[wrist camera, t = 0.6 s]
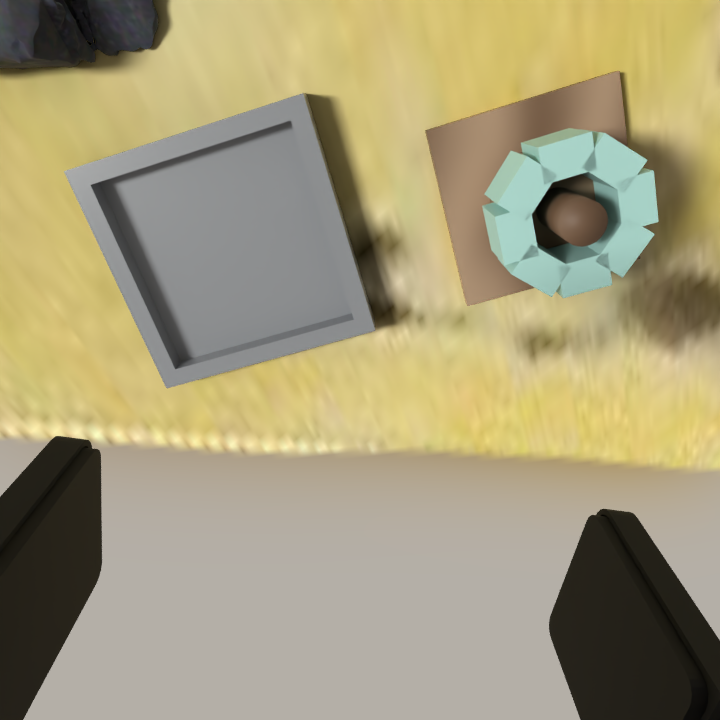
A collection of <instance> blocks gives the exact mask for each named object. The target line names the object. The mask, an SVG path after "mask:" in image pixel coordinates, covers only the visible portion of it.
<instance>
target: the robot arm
mask: <svg viewBox="0 0 720 720" xmlns="http://www.w3.org/2000/svg"><path fill="white" fill-rule="evenodd" d="M101 528H102V526H101V454H100V451H99V450H98V449H92V445H91V443H90V441H89V440H84V439H76V438H69V437H61V436H56V437H54V438H53V439H52V440H51V441H50V442H49V443H48V444H47V446H46V447H45V448H44V449H43V450H42V451H41V452H40V453H39V454H38V455H37V457H36V458H35V459H34V460H33V461H32V462H31V463H30V464H29V466H28V467H27V468H26V469H25V470H24V471H23V472H22V473H21V474H20V475H19V477H18V478H17V479H16V480H15V481H14V482H13V483H12V484H11V485H10V487H9V488H8V489H7V490H6V491H5V492H4V493H3V495H1V497H0V720H23V719H24V717H25V715H26V713H27V711H28V709H29V708H30V706H31V704H32V702H33V700H34V698H35V696H36V695H37V692H38V691H39V689H40V687H41V685H42V683H43V681H44V679H45V678H46V676H47V674H48V672H49V670H50V669H51V667H52V665H53V663H54V661H55V659H56V657H57V655H58V654H59V652H60V650H61V648H62V646H63V644H64V643H65V641H66V639H67V637H68V635H69V633H70V631H71V630H72V628H73V626H74V624H75V622H76V620H77V618H78V617H79V615H80V613H81V611H82V609H83V607H84V605H85V604H86V602H87V600H88V598H89V596H90V594H91V593H92V591H93V589H94V587H95V585H96V583H97V581H98V578H99V575H100V571H101V565H102V531H101ZM549 630H550V636H551V639H552V642H553V644H554V648H555V650H556V653H557V656H558V659H559V661H560V664H561V667H562V670H563V672H564V675H565V678H566V681H567V683H568V686H569V689H570V691H571V694H572V697H573V700H574V703H575V706H576V708H577V711H578V714H579V717H580V719H581V720H720V640H719V639H718V637H717V636H716V634H715V633H714V631H713V630H712V628H711V627H710V625H709V624H708V622H707V621H706V620H705V618H704V617H703V615H702V613H701V612H700V610H699V609H698V607H697V606H696V605H695V603H694V602H693V600H692V599H691V597H690V596H689V594H688V593H687V591H686V590H685V588H684V587H683V585H682V584H681V582H680V581H679V579H678V578H677V576H676V575H675V573H674V572H673V570H672V569H671V568H670V566H669V564H668V563H667V562H666V560H665V559H664V557H663V555H662V554H661V552H660V551H659V549H658V548H657V547H656V545H655V544H654V542H653V541H652V539H651V538H650V536H649V535H648V533H647V532H646V530H645V529H644V527H643V526H642V524H641V523H640V521H639V520H638V518H637V517H636V516H635V515H634V514H633V513H630V512H624V511H616V510H609V509H602V510H600V511H599V512H598V513H597V515H591V516H590V517H589V518H588V520H587V522H586V524H585V527H584V530H583V532H582V535H581V537H580V540H579V543H578V545H577V548H576V551H575V553H574V556H573V559H572V561H571V564H570V566H569V569H568V572H567V574H566V577H565V579H564V582H563V584H562V587H561V590H560V592H559V595H558V598H557V600H556V603H555V605H554V608H553V611H552V614H551V616H550V622H549Z"/></svg>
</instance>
